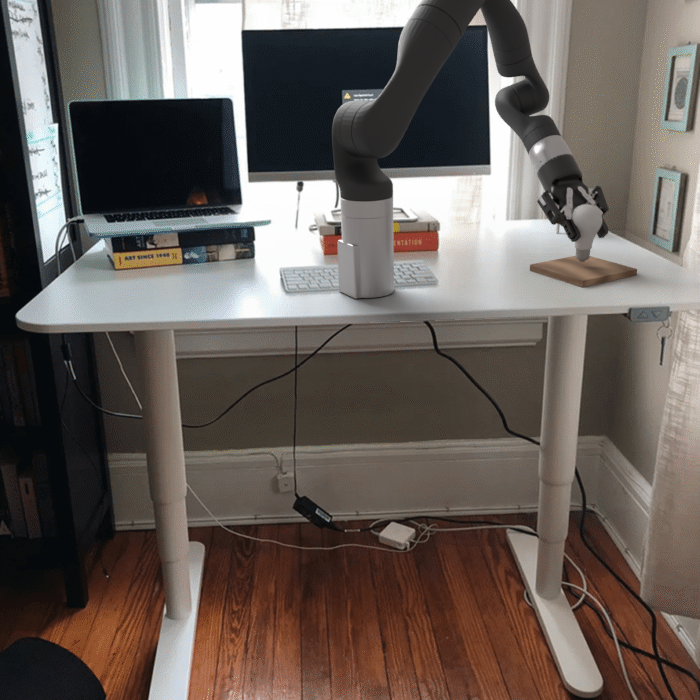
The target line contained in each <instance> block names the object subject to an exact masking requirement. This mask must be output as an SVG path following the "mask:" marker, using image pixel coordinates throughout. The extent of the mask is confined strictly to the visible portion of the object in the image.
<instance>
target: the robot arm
mask: <svg viewBox="0 0 700 700" xmlns="http://www.w3.org/2000/svg"><path fill="white" fill-rule="evenodd" d="M479 11H480V12H481V14H482V17H483V19H484V22H485V24H486V25H485V26H486V29H487V31H488V35H489V39H490V44H491V47H492V48H491V49H492V53H493V58H494V61H495V66H496V70H497V72H498V74H499V76H501V77H504V78H518V77H524V79H522V80H520V81H517V82H515V83H512V84H510V85H507V86H505V87H503V88H501V89H499V91H497V93H496V95H495V98H494V105H495V110H496V112H497V113H498V114H497V115H499V117H500V119H502V121H504V123H506V124H507V126H508V127H510V129H511V130H512V131H513V132H514V133H515V134H516V135H517V136H518V137H519V139H520V140H521V142H522V144H523V146H524V148H525V150H526V153H527V154H528V157H529V159H530V162H531V165H532V167H533V170H534V172H535V173H536V176H537V178H538V180H539V182H540V184H541V186H542V188H543V190H544V191H543V192H542V194H541V195H540V196H539V198H538V199H537V200H536V202H537V204H538V206H539V207H540V209H541V210H542V211H543V213H544V214H545V216H546V218H547V219H548V220H549V222H550V224H551V225H553V226H554V225H557V224H560V227H562V228H563V229H564V232H565V234H566V236H567V238H568V239H569V240H570V241H571V242H572V243H575V242H576V241H577V240H578V239H579V238H580V237H581V234H580V232H579V230H578V228H577V226H576V225H575V224H574V222H573V220H571V218H572V211H573V210H574V209H575V208H576V207H577V206H580V205H583V204H589V205H593V206H595V207H596V208H597V209H598V210H599V211H600V212H601V215H602V225H601V227H600V229H599V231H598V232H597V234H596V235H597V237H598V238H599V239H602V238H603V239H604V238H605V237H606V236H607V235H608V234H609V227H608V225H607V223H606V221H605V219H604V216H605V215H606V214H607V213H608V212H609V210H610V208H609V206H608V203H607V200H606V198H605V194H604V191H603V190H602V187H601V186H599V185H596V186H595V187H592V188H590V187H588V186H587V184H585V183H584V182H583V173H582V171H581V168H580V167H579V165H578V163H577V161H576V159H575V157H574V155H573V153H572V151H571V149H570V147H569V146H568V144H567V143H566V141H565V139H564V138H563V136H562V135H561V132H560V130H559V129H558V127H557V125H556V123H555V121H554V120H553V117H551V116H549V115H548V114H539V115H535V114H537V113H540V112H542V111H544V110H545V109H546V108H547V106H548V105H549V102H550V92H549V89H548V87H547V85H546V83H545V82H544V79H543V77H542V76H541V75H540V72H539V70H538V67H537V66H536V65H537V64H536V63H535V60H534V57H533V53H532V48H531V43H530V38H529V32H528V28H527V26H526V23H525V21H524V19H523V17H522V15H521V14H520V11H519V10H518V9H517V7H516V6H515V5H514V3H513V2H512V1H511V0H421V1H420V2H419V4H418V5H417V7H416V8H415V9H414V11H413V12H412V14H411V16H410V17H409V18H408V21H407V22H406V23H405V25H404V26H403V28H402V30H401V32H400V35H399V40H398V45H397V57H396V65H395V69H394V71H393V73H392V76H391V77H390V79H389V80H388V82H387V84H386V85H385V87H384V88H383V89H382V91H381V92H380V94H379V95H378V96H377V97H376V98H375V99H374V100H371V101H370V100H349V101H346V102H344V103H343V104H341V105H340V107H339V108H338V109H337V110H336V113H335V115H334V117H333V121H332V127H331V141H332V142H331V144H332V145H331V146H332V154H333V156H332V157H333V168H334V176H335V181H336V183H337V184H338V185H337V186H338V187H339V188H338V189H339V192H340V194H339V195H340V197H339V198H340V224H341V225H340V226H341V227H340V228H341V230H340V231H341V239H338V240H337V245H336V246H337V266H338V267H337V268H338V269H337V271H338V272H337V273H338V274H337V275H338V291H339V293H342V294H344V295H346V296H349V297H351V298H353V299H362V298H363V299H371V298H380V297H386V296H389V295H391V294H392V293H394V291H395V275H394V274H395V273H394V272H395V271H394V268H395V266H394V265H395V263H394V262H395V261H394V258H395V257H394V254H395V253H394V183H393V180H392V179H391V178H390V177H389V176H388V175H386V174H385V172H383V170H382V169H381V168H380V165H379V164H378V159H383V158H386V157H388V156H389V155H391V153H393V152H394V151H395V150H396V149H397V147H398V146H399V145H400V143H401V141H402V139H403V137H404V136H405V133H406V131H408V128H409V126H410V124H411V121H412V120H413V118H414V116H415V114H416V112H417V111H418V108H419V106H420V104H421V102H422V100H423V99H424V97H425V95H426V94H427V92H428V90H429V88H430V87H431V85H432V84H433V82H434V80H435V78H437V76H438V74H439V72H440V71H441V69H442V67H443V66H444V65H445V63H446V61H447V60H448V59H449V57H450V56H451V54H452V53H453V51H454V50H455V48H456V47H457V45H458V43H459V42H460V40H461V39H462V38H463V36H464V33H465V32H466V31H467V28H468V27H469V26H470V24H471V22H472V21H473V19H474V18H475V16H476V15H477V14H478V12H479Z"/></svg>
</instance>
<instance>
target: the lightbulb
mask: <svg viewBox="0 0 700 700" xmlns="http://www.w3.org/2000/svg"><path fill="white" fill-rule="evenodd" d="M571 212H572V218H571V220H573V222H574V224H575V225H576V226H577V228H578V230H579V232H580V234H581V237H580V238H579V239H578V240H577V241H576V242H574V248H575V256H576V259H578V260H579V261H580V262H585V261H586V260H588V259H589V257H590V256H591V249H592V248H593V244H594V240H595V238H596V235H597V232H598V231H599V229H600V227H601V225H602V215H601V212H600V211H599V210H598V209H597V208H596V207H595V206H593V205H589V204H588V203H586V204H583V205H580V206H577V207H576V208H575V209H574V210H572V211H571Z"/></svg>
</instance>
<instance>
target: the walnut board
mask: <svg viewBox="0 0 700 700" xmlns="http://www.w3.org/2000/svg"><path fill="white" fill-rule="evenodd" d="M529 271H530V272H533V273H536V274H539V275H542V276H546V277H547V278H548V277H549V278H552V279H555V280H558V281H562V282H564V283H567V284H571V285H574V286H577V287H580V288H585V287H589V286H594V285H599V284H604V283H608V282H613V281H616V280H621V279H627V278H629V277H630V278H631V277H634V276H638V268H636V267H632V266H628V265H624V264H622V263H621V264H620V263H616V262H613V261H609V260H606V259H601V258H598V257H595V256H591V255H590V257H589V259H588V260H586V261H585V262H580V261H579V260H578V259H576V255H572V256H567V257H562V258H557V259H552V260H547V261H542V262H537V263H532V264H529Z"/></svg>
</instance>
